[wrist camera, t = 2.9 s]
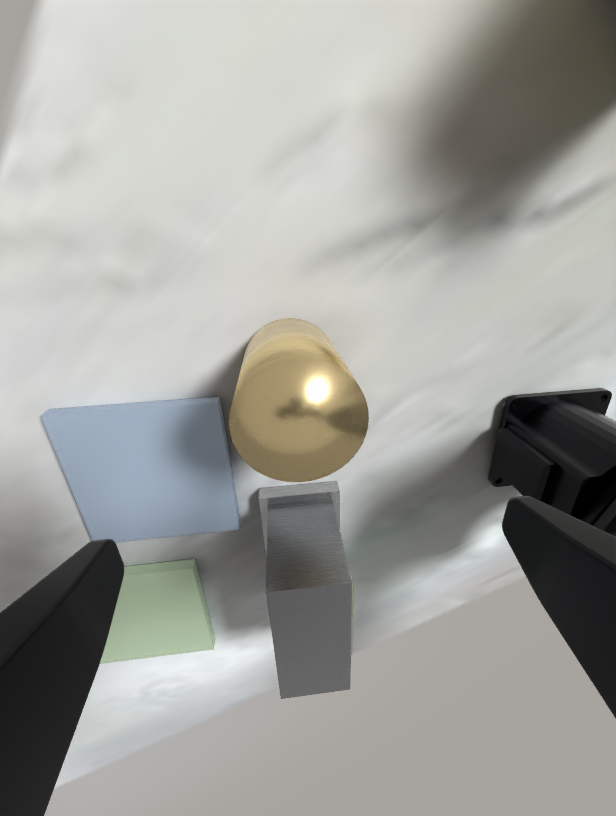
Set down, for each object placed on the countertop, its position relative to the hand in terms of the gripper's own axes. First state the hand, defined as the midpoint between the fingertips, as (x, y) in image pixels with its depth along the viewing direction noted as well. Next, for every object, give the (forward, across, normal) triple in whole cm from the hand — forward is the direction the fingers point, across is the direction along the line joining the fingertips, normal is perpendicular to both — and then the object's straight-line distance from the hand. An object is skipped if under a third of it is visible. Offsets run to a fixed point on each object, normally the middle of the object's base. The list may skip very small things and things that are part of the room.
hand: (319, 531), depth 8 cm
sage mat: (+12, +12, +18) cm, 25 cm away
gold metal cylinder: (+12, 0, 0) cm, 12 cm away
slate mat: (+12, +9, +6) cm, 16 cm away
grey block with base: (+12, 0, +13) cm, 18 cm away
